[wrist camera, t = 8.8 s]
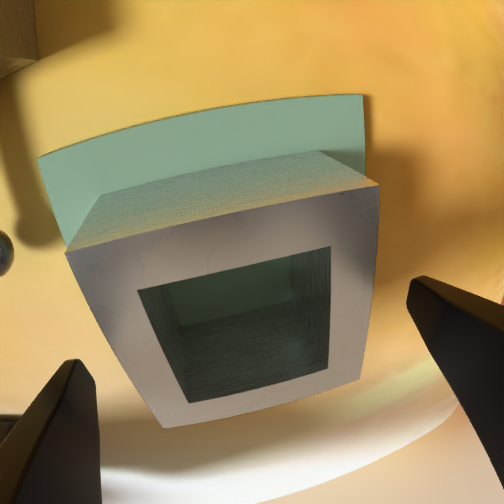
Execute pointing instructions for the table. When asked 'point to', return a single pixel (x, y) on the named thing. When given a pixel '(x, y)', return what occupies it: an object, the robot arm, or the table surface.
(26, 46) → the vise block
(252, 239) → the hollow square block
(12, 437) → the robot arm
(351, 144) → the felt pad
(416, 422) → the table surface
